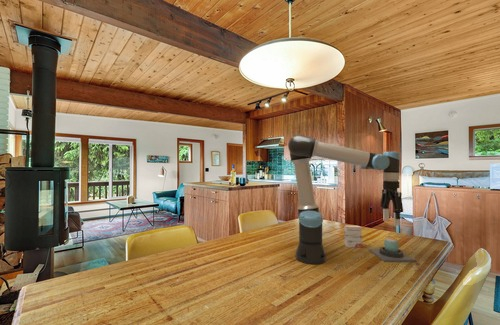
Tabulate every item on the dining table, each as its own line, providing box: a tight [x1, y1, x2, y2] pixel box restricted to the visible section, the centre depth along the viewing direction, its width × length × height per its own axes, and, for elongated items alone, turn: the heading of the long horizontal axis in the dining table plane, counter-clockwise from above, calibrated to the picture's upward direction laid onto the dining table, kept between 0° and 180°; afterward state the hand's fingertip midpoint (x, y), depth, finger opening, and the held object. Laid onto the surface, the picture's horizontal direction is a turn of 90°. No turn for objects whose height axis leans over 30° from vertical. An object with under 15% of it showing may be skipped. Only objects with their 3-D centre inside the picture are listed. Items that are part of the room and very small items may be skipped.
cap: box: [384, 238, 399, 253], centre depth 130 cm, size 6×6×7 cm
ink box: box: [344, 224, 363, 249], centre depth 145 cm, size 9×5×12 cm, turn 84°
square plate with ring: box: [368, 246, 417, 263], centre depth 130 cm, size 16×16×3 cm
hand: (391, 222), depth 130 cm, fingers open, 9 cm apart
